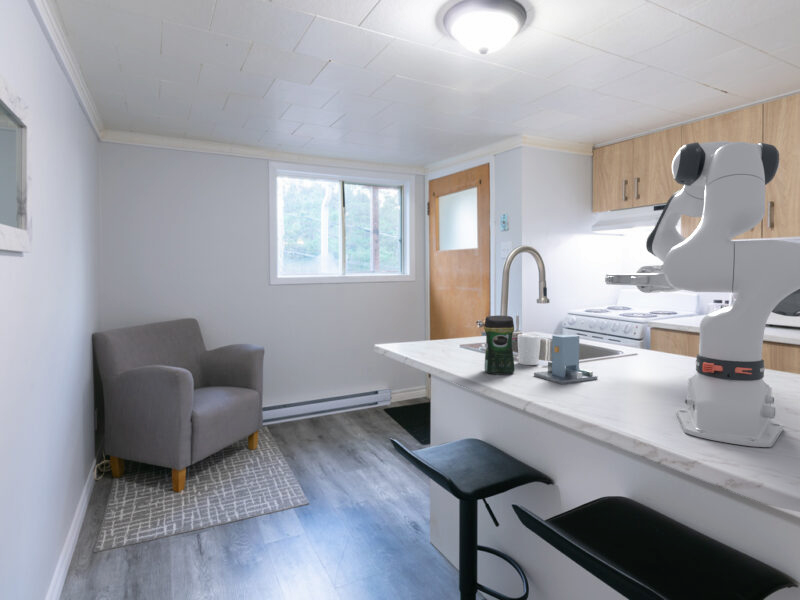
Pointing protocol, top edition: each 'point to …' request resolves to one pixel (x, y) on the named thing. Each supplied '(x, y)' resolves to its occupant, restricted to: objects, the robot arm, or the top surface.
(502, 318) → the coffee jar
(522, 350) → the white cup
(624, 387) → the top surface
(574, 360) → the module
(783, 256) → the robot arm
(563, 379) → the rail plate
